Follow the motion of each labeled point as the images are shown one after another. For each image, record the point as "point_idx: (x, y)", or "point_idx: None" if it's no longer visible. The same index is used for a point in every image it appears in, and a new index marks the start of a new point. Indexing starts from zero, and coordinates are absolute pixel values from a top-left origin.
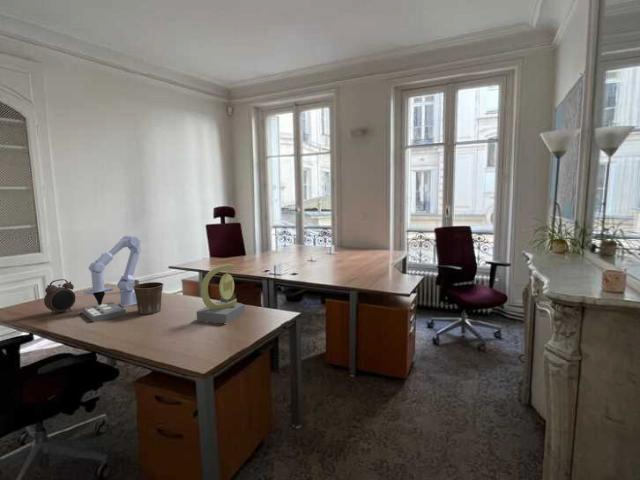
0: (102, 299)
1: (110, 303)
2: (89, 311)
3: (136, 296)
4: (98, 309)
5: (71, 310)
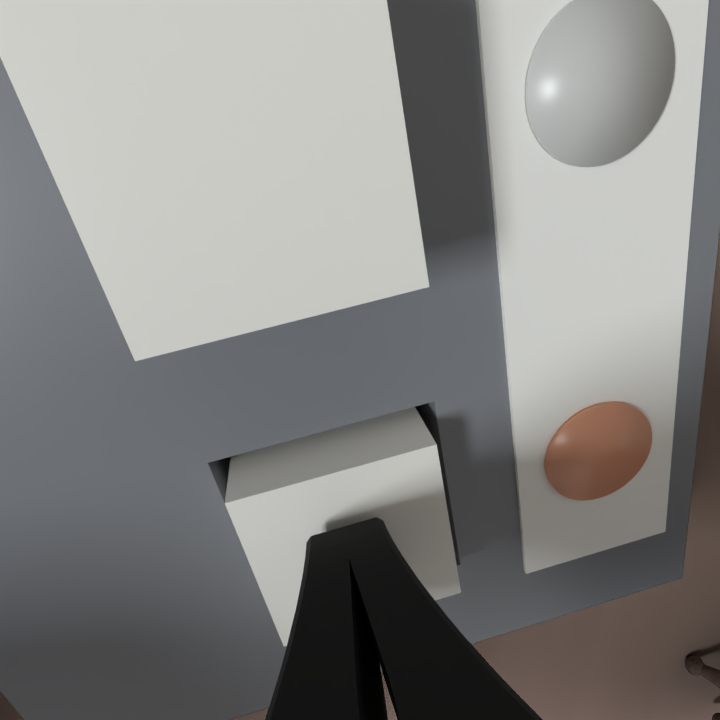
0: (267, 716)
1: (89, 678)
2: (682, 90)
3: None
4: None
5: (691, 663)
